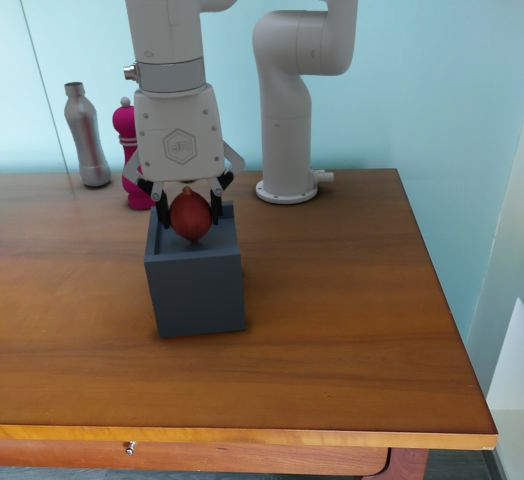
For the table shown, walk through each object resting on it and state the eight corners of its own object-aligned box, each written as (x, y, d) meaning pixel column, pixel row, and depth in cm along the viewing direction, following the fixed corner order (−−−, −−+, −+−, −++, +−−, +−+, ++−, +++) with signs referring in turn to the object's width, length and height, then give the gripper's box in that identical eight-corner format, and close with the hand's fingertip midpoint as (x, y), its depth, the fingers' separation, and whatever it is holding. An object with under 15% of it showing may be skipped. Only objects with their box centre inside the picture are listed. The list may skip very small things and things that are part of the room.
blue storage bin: (238, 270, 85) (232, 200, 78) (245, 330, 73) (240, 253, 65) (163, 276, 85) (151, 206, 77) (159, 338, 72) (143, 262, 65)
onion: (174, 233, 75) (165, 178, 69) (214, 230, 75) (208, 175, 70) (172, 253, 70) (162, 196, 65) (215, 250, 70) (209, 193, 65)
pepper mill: (166, 195, 109) (149, 91, 96) (157, 211, 103) (138, 102, 91) (132, 195, 110) (111, 91, 97) (122, 210, 104) (98, 103, 91)
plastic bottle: (86, 192, 112) (60, 90, 99) (79, 181, 116) (53, 83, 104) (116, 185, 114) (94, 85, 101) (108, 175, 119) (86, 78, 106)
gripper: (89, 89, 56) (124, 241, 67) (251, 78, 57) (258, 230, 68) (99, 72, 62) (129, 215, 73) (245, 63, 63) (252, 206, 74)
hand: (191, 221), depth 71 cm, fingers closed on onion, 5 cm apart
